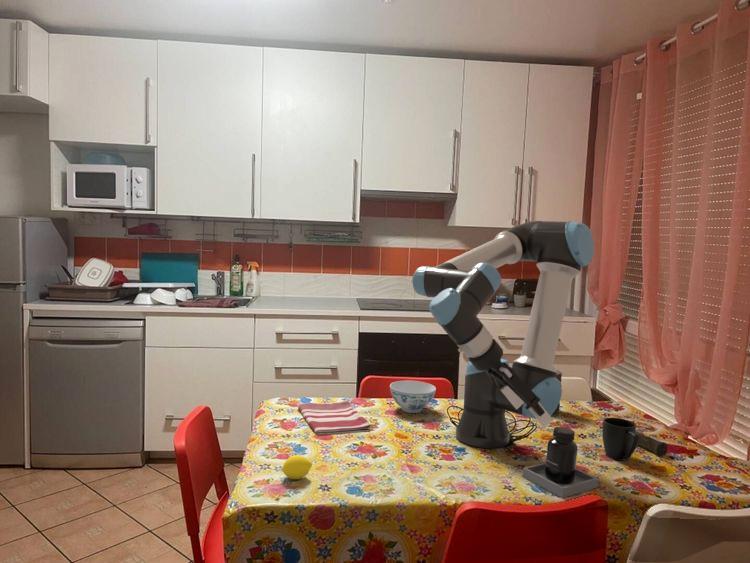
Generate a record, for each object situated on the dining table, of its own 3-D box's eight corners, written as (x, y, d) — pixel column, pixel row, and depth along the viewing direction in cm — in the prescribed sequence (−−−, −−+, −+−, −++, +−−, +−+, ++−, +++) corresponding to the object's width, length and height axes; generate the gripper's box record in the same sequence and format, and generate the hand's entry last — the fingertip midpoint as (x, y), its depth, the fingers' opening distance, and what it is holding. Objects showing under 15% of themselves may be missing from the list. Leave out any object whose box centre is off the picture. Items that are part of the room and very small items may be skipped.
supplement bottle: (543, 480, 135) (547, 431, 134) (546, 470, 141) (549, 423, 140) (574, 487, 132) (578, 436, 131) (575, 476, 139) (579, 428, 138)
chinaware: (391, 401, 196) (392, 379, 195) (435, 405, 193) (436, 382, 193) (386, 414, 181) (387, 390, 180) (433, 419, 179) (435, 395, 178)
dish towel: (348, 407, 188) (348, 399, 187) (371, 432, 166) (372, 423, 165) (297, 411, 182) (297, 402, 182) (315, 437, 160) (315, 428, 160)
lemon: (284, 486, 129) (282, 463, 128) (281, 476, 134) (279, 454, 133) (315, 479, 131) (313, 457, 130) (311, 470, 136) (308, 448, 135)
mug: (618, 468, 147) (621, 432, 146) (594, 450, 159) (597, 417, 158) (648, 468, 148) (651, 432, 147) (622, 450, 160) (625, 417, 159)
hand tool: (668, 456, 158) (669, 440, 157) (656, 457, 156) (658, 441, 156) (617, 432, 175) (619, 418, 175) (607, 433, 174) (608, 418, 174)
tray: (522, 476, 139) (523, 467, 139) (557, 468, 145) (557, 459, 145) (561, 497, 128) (562, 488, 128) (597, 487, 135) (598, 478, 135)
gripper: (449, 348, 141) (499, 408, 146) (490, 372, 117) (549, 444, 122) (471, 328, 142) (520, 388, 147) (517, 347, 118) (574, 420, 122)
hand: (533, 414), depth 134 cm, fingers open, 13 cm apart
